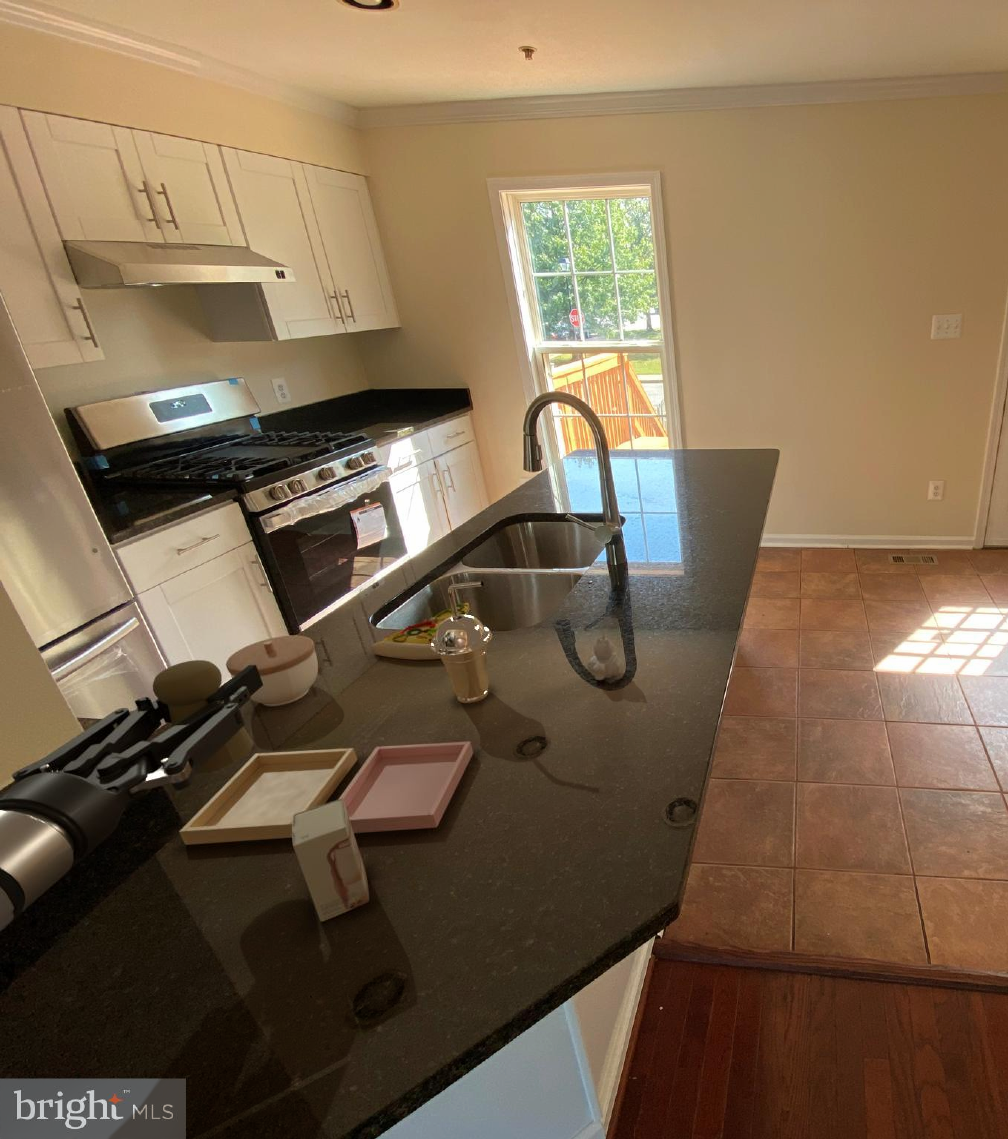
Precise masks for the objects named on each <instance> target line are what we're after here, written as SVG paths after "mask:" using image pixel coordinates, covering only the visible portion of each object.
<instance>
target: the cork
mask: <svg viewBox="0 0 1008 1139" xmlns="http://www.w3.org/2000/svg"><path fill="white" fill-rule="evenodd" d="M222 677H223V675H222V672H221V670H220V668H219V667H218V666H217V665H215V664H214V663H213V662H211V661H208V660H204V659H195V660H188V661H183V662H179V663H177V664H172V665H171V666H169V667H167V668H165V669H164V670H161V671H160V672H159V673H157V675H155V677H154V680H153V682H152V691H153V693H154V696H155V697H156V699H159V700H160V701H161V702H162V703H165V704H167V705H168V709H169V713H170V718H171V723H170V724H171V728H172V727H173V726H175V725H176V724H178V723H179V722H181V721H183V720H184V719H186V718H187V717H189V716H191V715H192V714H194V713H195V712H197V711H199V710H200V709H202V708H203V707H205V706H206V705H208V702H207V698H208V697H209V696H211V695H213V694H214V693H215V692H217V690H218V689H220V688H221V687H222V682H223V681H222V680H223V678H222ZM253 747H254V741H253V739H252V738H251V736H250V735H249V733H248V731H247V729H246V728H245V726H243V727H242V728H241V729H240V730H239V731H238V732H237V733H236V734H235V735H234V736H233V737H232V738H231V739H230V740H229V741H228V742H227V743H226V744H225V745H224V746H223V747H222V748H221V749H220V750H218V751H217V752H216V753H215V754H214V755H213V756H212V757H211V758H210V759H209V760H208V761H207V762H206V763H205V764H204V765H203V766H202V767H201V768H200V769H199V770H198V771H197V772H196V774H195V775H201V774H205V773H206V774H207V773H211V772H215V771H218V770H221V769H224V768H226V767H228V766H230V765H233V764H234V763H236V762H238V761H239V760H241V759H243V758H244V757H246V755H248V753H250V751H251V750H252V748H253Z"/></svg>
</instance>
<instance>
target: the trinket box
mask: <svg viewBox="0 0 1008 1139" xmlns="http://www.w3.org/2000/svg"><path fill="white" fill-rule="evenodd" d="M315 649H316V646H315V643H314V640H313V639H311V638H310V637H308V636H305V635H295V634H294V635H282V636H276V637H270V638H267V639H263V640H259V641H257V642H254V643H251V644H248V645H246V646H244V647H242V648H240V649H239V650H237V651H235V652H234V653H233V654H231V655H230V656H229V657H228V659H227V660H226V663H225V666H226V670H227V671H228V673H229V675H230V677H231V679H232V678H233V677H235V676H236V675H237V674H238V673H240V672H241V671H242V670H243V669H245V668H246V667H247V666H248V665H256V666H257V669H258V671H259V674H260V677H261V680H262V683H263V686H262V687H261V688H260V689H259V690H257V691H256V692H255V693H254V694H253V695H252V696H251V698H250V701H253V702H256V703H259V704H262V705H263V706H265V707H280V706H284V705H287V704H290V703H293V702H296V701H297V700H299V699H301V698H303V697H304V696H305V695H307V694H308V693H309V690H310V688H311V687H312V686H313V685H314V683H315V681H316V678H317V676H318V671H319V663H318V656H317V652H316V650H315Z"/></svg>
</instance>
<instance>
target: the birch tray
mask: <svg viewBox="0 0 1008 1139" xmlns="http://www.w3.org/2000/svg"><path fill="white" fill-rule="evenodd" d="M357 761H358V758H357V755H356V751H355V748H354V747H350V748H349V747H347V748H332V749H331V748H330V749H314V750H295V751H293V750H291V751H276V752H275V751H273V752H256V753H254V754H253V756H251V757H250V758H249V760H247V762H245V764H244V765H243V766H242V767H241V768H240V769H239V770H238V771H237V772H236V773H235V774H234V775H233V776H232V777H231V778H230V779H229V780H228V781H227V782H226V783H225V784H224V785H223V786H222V787H221V788H220V790H218V791H217V792H216V793H215V794H214V795H213V796H212V797H211V798H210V800H208V801H207V802H206V803H205V804H204V805H203V807H202V808H201V809H200V810H198V811H197V813H196V814H195V815H194V816H193V817H192V818H191V819H190V820H189V821H188V822H187V823H186V824H185V825H184V826H183V827H182V828H181V829H180V830H179V831H178V832H179V835H180V837H181V839H182V842H183V843H184V845H186V846H187V845H201V844H202V845H203V844H218V843H231V842H247V841H260V840H275V839H290V838H292V823H293V815H294V814H296V813H299V812H302V811H305V810H308V809H311V808H314V807H317V806H320V805H323V804H327V802H328V800H329V799H330V798H331V796H332V795H333V794H334V792H335V791H336V789H337V788H338V787H339V785H340V784H341V783H342V781H343V780H344V779H345V777H346V776H347V775H348V773H349V772H350V771H351V769H352V768H353V767H354V765H355V764H356V763H357Z"/></svg>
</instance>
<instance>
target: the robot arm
mask: <svg viewBox="0 0 1008 1139" xmlns="http://www.w3.org/2000/svg"><path fill="white" fill-rule="evenodd" d="M262 686H263V683H262V680H261V677H260V674H259V671H258V669H257V666H256V665H248V666H247V667H246V668H245V669H243V670H242V671H241V672H240V673H238V674H237V675H236V676H235V677H233V678H232V677H231V679H229V680H228V681H227V682H226V683H224V684H223V685H221V686H220V689H218V690H217V692H215V693H214V694H213V695H211V696H209V697H208V698H207V702H208V705H206V706H205V707H203V708H202V709H200V710H199V711H197V712H195V713H194V714H192V715H191V716H189V717H187V718H186V719H184V720H183V721H181V722H179V723H178V724H176V725H175V726H173V727H172V726H171V727H170V728H168V729H167V730H165V731H163V732H161V733H160V734H158V735H157V736H156V737H154V738H153V739H150V737H152V735H154V733H155V732H156V731H157V730H158V729H159V728H160V727H161V726H162V720H163V721H164V723H165V724H172V723H171V718H170V713H169V709H168V705H167V704H165V703H162V702H161V701H160V700H159V699H158V698H156V699H155V700H154V701H152V699H151V697H150V696H144V697H140V698H137V699H136V700H134V703H135V705H136V708H135V709H133V710H130V709H129V708H128V707H122V708H118V709H116V710H114V711H112V712H111V713H109V714H108V715H106V716H105V717H103V718H102V719H100V720H99V721H97V722H95V723H94V724H92V725H91V726H90V727H88V728H87V729H85V730H84V731H82V732H80V733H79V734H78V735H76V736H74V737H73V738H71V739H70V740H69V741H67V742H65V743H64V744H62V745H61V746H59V747H58V748H56V749H55V750H53V751H52V752H50V753H49V754H47V755H46V756H44V757H43V758H41V759H39V760H36V761H35V762H33V763H31V764H29V765H26V766H25V767H22V768H20V769H18V770H16V771H15V772H13V773H12V774H11V777H12V779H13V781H14V782H15V784H14V785H12V786H11V787H10V788H8V789H7V790H5V791H4V792H3V793H1V794H0V932H1V931H3V930H5V929H6V928H7V927H8V926H9V925H10V924H11V923H12V922H14V921H15V920H16V919H18V917H19V916H20V915H21V914H22V913H23V912H24V911H25V910H27V908H29V907H30V906H31V905H32V904H33V903H34V902H35V901H36V900H38V899H39V898H40V897H41V896H42V895H43V894H44V893H45V892H47V891H48V890H49V889H50V888H51V887H52V886H53V885H54V884H56V883H57V882H58V881H59V880H61V878H63V877H64V876H65V875H66V874H67V873H68V872H69V871H70V870H71V868H72V867H74V866H76V865H77V864H79V863H81V861H83V860H84V859H85V858H86V857H87V856H89V854H91V852H93V851H94V850H95V849H96V848H97V847H98V846H100V844H102V843H103V842H104V841H105V840H106V839H107V838H108V837H109V836H110V835H112V834H113V832H115V830H116V829H117V827H118V824H119V822H120V819H121V817H122V815H123V813H124V811H125V809H126V808H127V807H129V806H130V805H132V804H133V803H135V802H136V801H139V800H140V799H142V798H144V797H145V796H146V795H148V794H149V793H150V792H151V790H152V789H155V788H160V787H163V786H167V785H171V786H172V788H173V790H175V791H180V790H184V789H185V788H188V787H189V786H191V784H192V783H193V781H194V778H195V776H196V775H197V774H196V772H197V771H198V770H199V769H200V768H201V767H202V766H203V765H204V764H205V763H206V762H207V761H208V760H209V759H210V758H211V757H212V756H213V755H214V754H215V753H216V752H217V751H218V750H220V749H221V748H222V747H223V746H224V745H225V744H226V743H227V742H228V741H229V740H230V739H231V738H232V737H233V736H234V735H235V734H236V733H237V732H238V731H239V730H240V729H241V728H242V727H245V725H246V722H245V719H244V716H243V714H242V711H241V708H242V707H244V705H246V704H247V703H248V702H249V701H251V699H250V698H251V696H252V695H253V694H254V693H255V692H256V691H257V690H259V689H260V688H261V687H262ZM114 725H116V727H115V726H114ZM149 739H150V740H149Z"/></svg>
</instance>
